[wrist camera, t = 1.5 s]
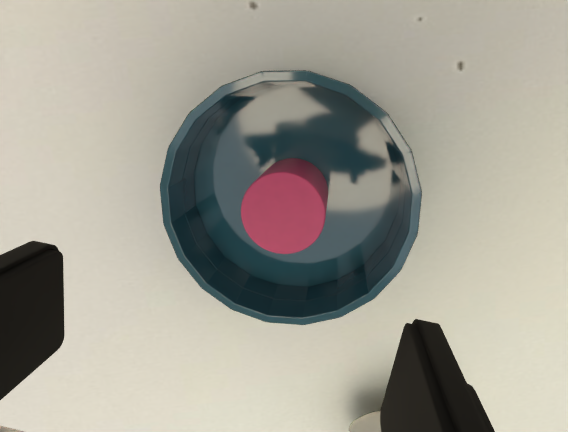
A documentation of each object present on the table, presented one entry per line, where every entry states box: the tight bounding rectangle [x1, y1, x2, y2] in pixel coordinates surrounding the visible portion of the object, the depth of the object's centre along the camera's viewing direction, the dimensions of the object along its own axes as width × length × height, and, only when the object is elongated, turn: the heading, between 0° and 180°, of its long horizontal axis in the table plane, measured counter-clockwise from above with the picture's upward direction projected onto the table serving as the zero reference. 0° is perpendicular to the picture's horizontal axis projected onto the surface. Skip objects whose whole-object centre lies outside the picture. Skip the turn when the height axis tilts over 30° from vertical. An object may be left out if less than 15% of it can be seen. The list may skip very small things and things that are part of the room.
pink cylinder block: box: [241, 158, 328, 254], centre depth 22 cm, size 4×4×5 cm
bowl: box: [160, 70, 422, 325], centre depth 23 cm, size 14×14×4 cm
